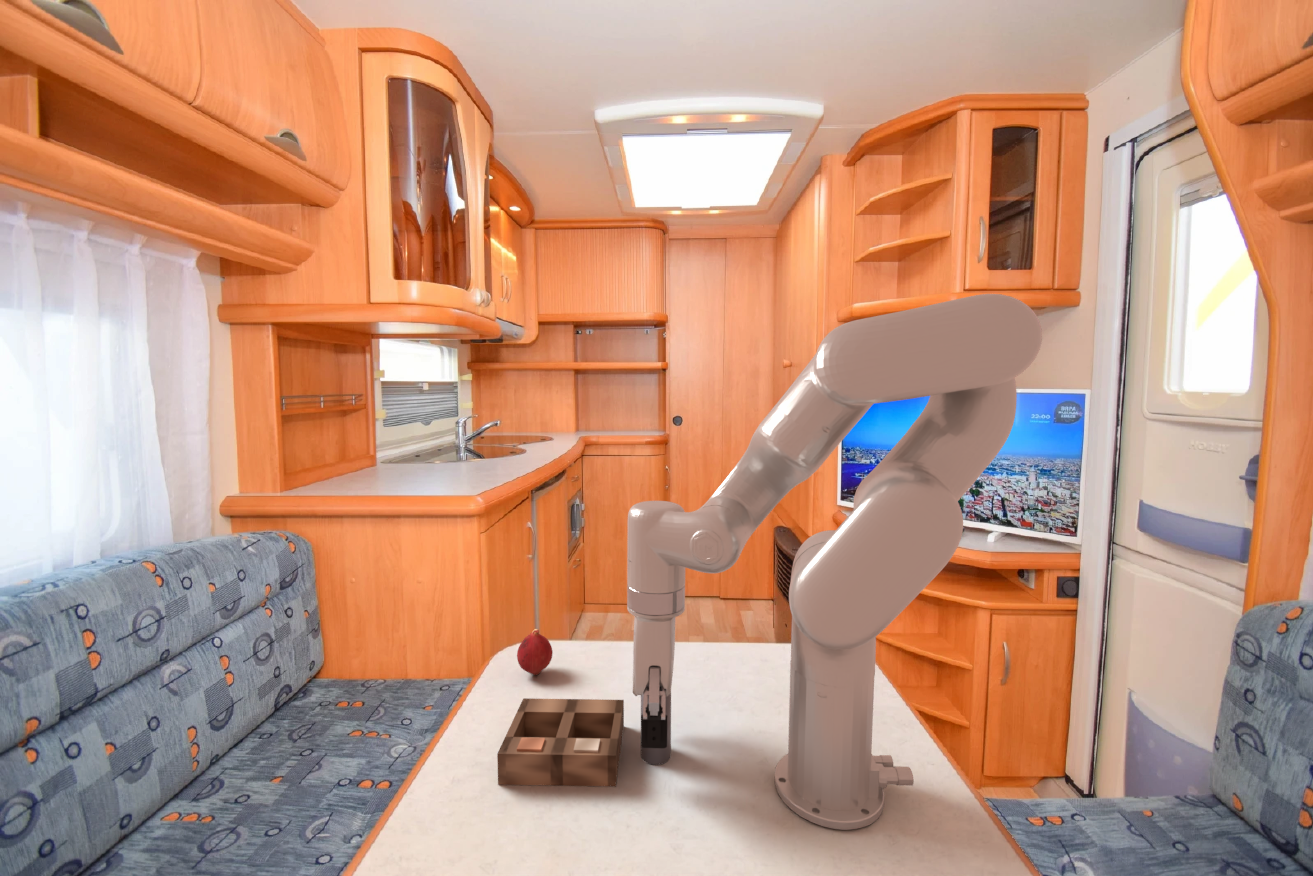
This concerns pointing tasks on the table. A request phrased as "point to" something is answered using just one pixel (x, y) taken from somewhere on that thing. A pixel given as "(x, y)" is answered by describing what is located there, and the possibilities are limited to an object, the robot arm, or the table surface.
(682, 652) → the table surface
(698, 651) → the table surface
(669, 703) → the plug
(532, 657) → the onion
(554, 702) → the socket block
